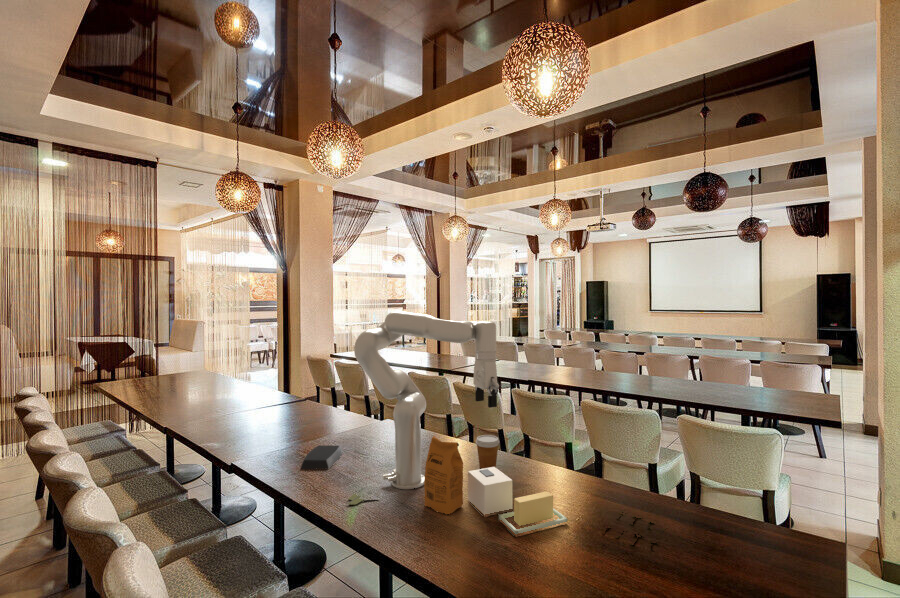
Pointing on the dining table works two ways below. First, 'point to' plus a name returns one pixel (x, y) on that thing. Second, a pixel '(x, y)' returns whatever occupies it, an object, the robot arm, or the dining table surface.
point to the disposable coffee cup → (487, 450)
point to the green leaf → (354, 499)
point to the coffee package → (443, 477)
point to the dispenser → (489, 490)
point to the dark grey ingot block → (322, 457)
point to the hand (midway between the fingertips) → (485, 403)
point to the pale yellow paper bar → (533, 508)
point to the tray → (533, 527)
